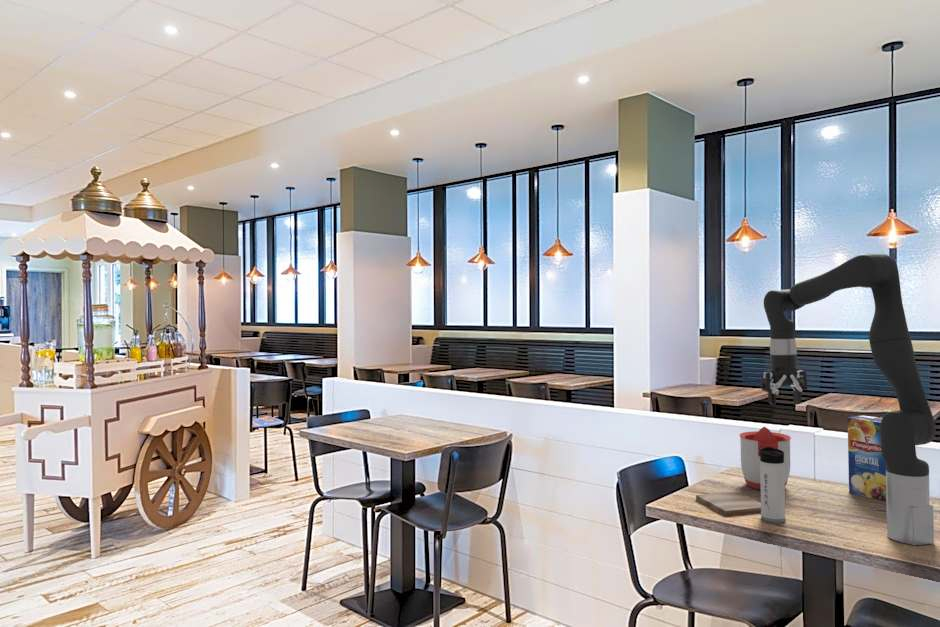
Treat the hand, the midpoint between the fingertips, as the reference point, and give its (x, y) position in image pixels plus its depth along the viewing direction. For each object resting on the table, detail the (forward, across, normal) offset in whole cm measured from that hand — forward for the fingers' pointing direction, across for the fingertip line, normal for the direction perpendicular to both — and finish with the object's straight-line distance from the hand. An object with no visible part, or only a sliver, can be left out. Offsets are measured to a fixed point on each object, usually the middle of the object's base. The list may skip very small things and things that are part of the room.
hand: (785, 404), depth 202 cm
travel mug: (+30, -17, -17) cm, 38 cm away
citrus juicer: (+29, 0, +12) cm, 31 cm away
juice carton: (+30, +27, -5) cm, 40 cm away
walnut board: (+29, -21, -3) cm, 36 cm away
